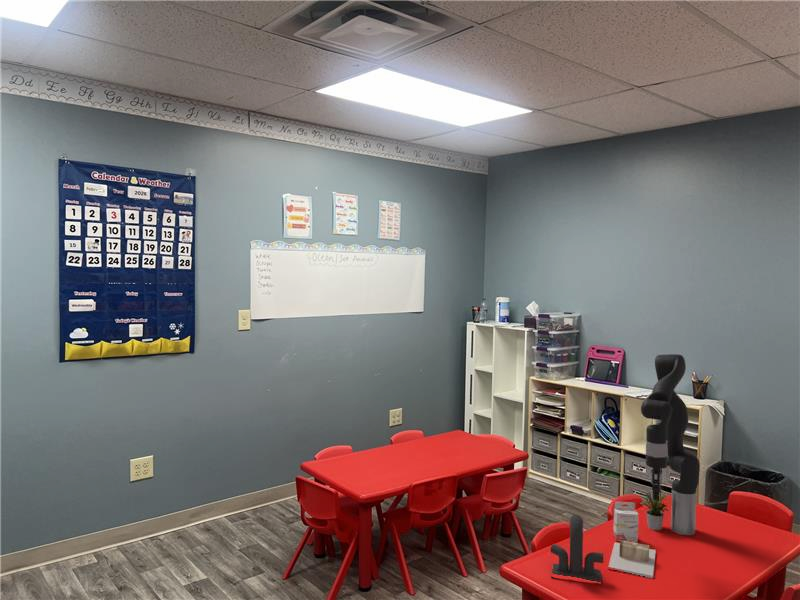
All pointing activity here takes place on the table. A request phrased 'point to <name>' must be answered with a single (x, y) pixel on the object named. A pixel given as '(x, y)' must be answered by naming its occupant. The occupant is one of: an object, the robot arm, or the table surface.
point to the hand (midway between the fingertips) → (656, 495)
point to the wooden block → (634, 551)
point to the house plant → (655, 512)
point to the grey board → (632, 563)
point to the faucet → (577, 555)
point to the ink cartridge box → (625, 522)
